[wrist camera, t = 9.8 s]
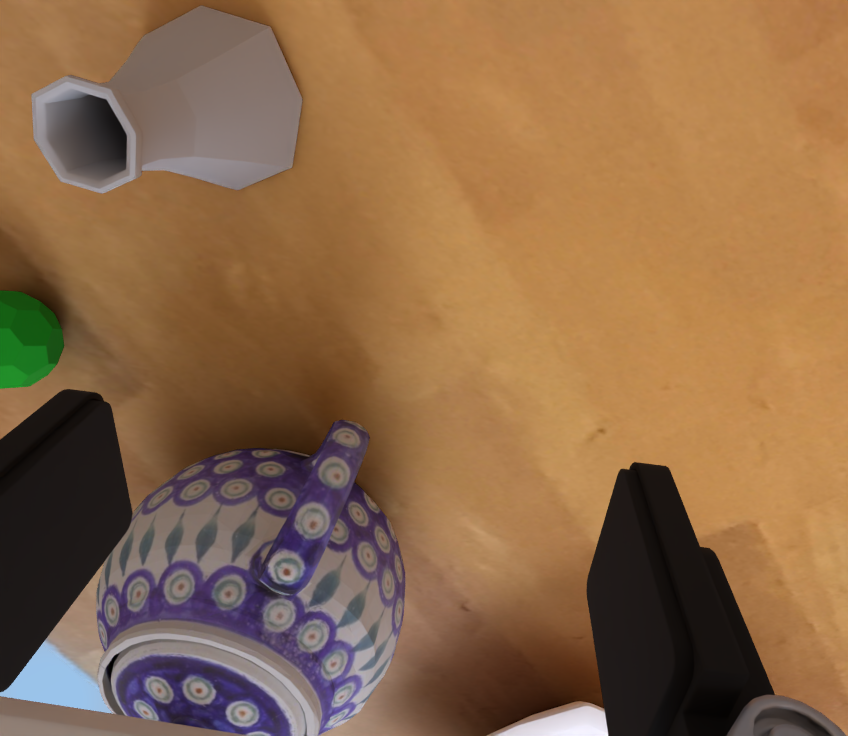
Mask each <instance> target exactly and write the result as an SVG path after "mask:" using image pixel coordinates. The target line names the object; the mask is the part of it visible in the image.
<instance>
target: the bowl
mask: <svg viewBox="0 0 848 736" xmlns="http://www.w3.org/2000/svg"><path fill="white" fill-rule="evenodd" d="M486 736H608V729H607V723H606V717H605V710H604V709H603V708H601V707H599V706H596V705H594V704H591V703H587V702H582V701H577V702H573V703H569V704H566V705H563V706H560V707H556V708H553V709H550V710H547V711H543V712H540V713H537V714H533V715H531V716H529V717H526V718H524V719H522V720H520V721H518V722H515V723H513V724H511V725H509V726H506V727H504V728H502V729H500V730H497V731H495V732H493V733H491V734H489V735H486Z"/></svg>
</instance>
